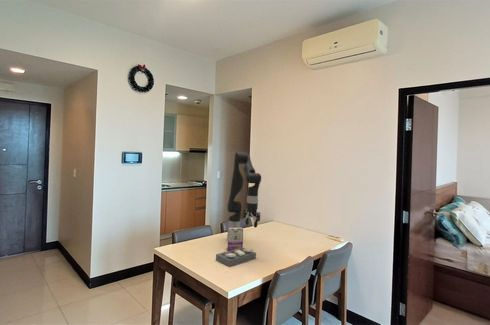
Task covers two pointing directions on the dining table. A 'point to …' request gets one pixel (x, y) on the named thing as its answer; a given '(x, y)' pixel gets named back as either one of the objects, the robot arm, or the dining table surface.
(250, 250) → the rocker
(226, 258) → the grey control panel
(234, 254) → the rocker
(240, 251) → the rocker
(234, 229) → the candy bar box
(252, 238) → the dining table surface
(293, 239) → the dining table surface
